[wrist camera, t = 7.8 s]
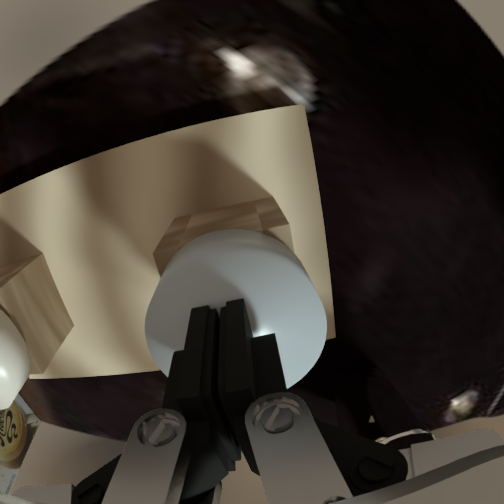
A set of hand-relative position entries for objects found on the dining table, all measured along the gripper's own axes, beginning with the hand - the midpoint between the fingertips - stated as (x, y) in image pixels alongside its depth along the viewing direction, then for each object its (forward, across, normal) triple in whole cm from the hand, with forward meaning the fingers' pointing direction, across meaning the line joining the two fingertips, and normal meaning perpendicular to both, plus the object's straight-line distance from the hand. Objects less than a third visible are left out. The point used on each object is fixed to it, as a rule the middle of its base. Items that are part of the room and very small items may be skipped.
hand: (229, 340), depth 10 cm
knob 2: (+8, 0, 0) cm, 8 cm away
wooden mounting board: (+9, +7, 0) cm, 11 cm away
